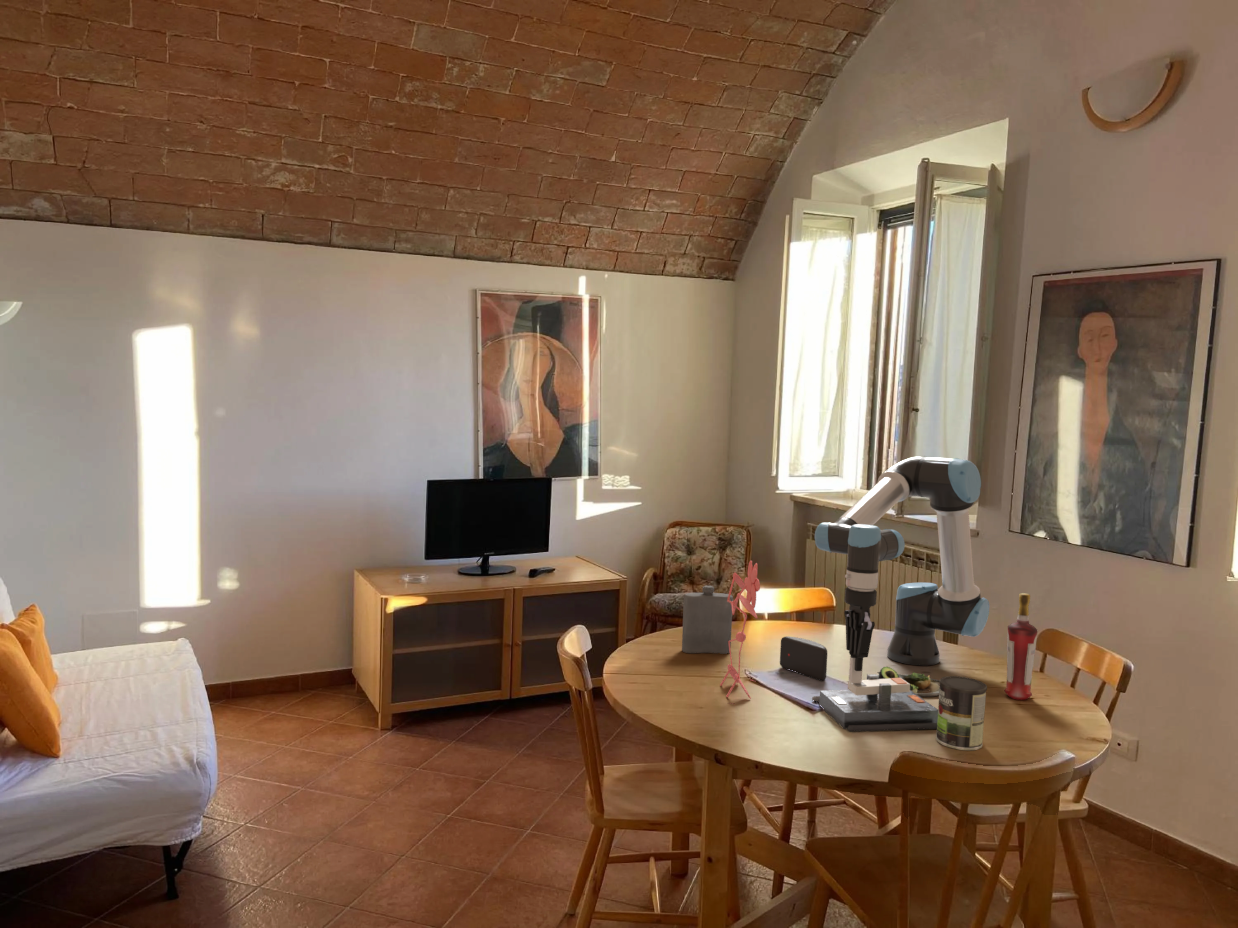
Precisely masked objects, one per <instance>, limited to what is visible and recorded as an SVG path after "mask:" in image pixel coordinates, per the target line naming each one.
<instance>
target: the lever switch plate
mask: <svg viewBox="0 0 1238 928" xmlns="http://www.w3.org/2000/svg"><path fill="white" fill-rule="evenodd" d="M878 675H879V674H877V673H875V674H872V673H871V674H868V673H867V674H866V680H872V679H879V676H878ZM819 696H820V701H819V702H818V705H819V704H820V705H821V706H822V707H823V708H824V710H823V711H824V712H825V713H826V714H827V715H828V717H830V718H832V720H833V721H835V722H836V724H838V725H839V726H840V727H841V728H842V729H843V730H848V726H849V725H878V724H915V723H937V721H938V708H936V707H935V706H934V705H933V704H930V702H928V701H926V700H925V699H923V697H919V696H918V695H916V694H915V693H914V692H912V691H911V690H910V692H902V693H891V685H890V684H889V683H880V684H879V694H870V695H855V694H854V693H852V692H851V691H850V690H849V689H842V690H841V689H837V690H834V689H831V690H819Z"/></svg>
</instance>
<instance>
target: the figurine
mask: <svg viewBox="0 0 1238 928" xmlns="http://www.w3.org/2000/svg"><path fill="white" fill-rule="evenodd" d="M758 566H759V565H758V563H757V562H756V563H755V564H754V565H753V560H750V561H749V562H748V566H747V577H745V578H744V580H743V579H742V578H741V577H740V575H739V574H737V572H734V573H733V574H732V580H731V585H730V588H729V592H728V594H729V595H728V599H727V602H729V603H731V606H732V616H734V615H735V613H736V609H737V610H738V611H740V613H742V614H743V615H744V619H743V625H742V631H738V632H737V633H736V634H735V638H733V639H731V640H730V641H728V644H729V652H730V653H729V658H730V664H727V672H726V673H725V675H724V677H723V679H722V680H721V682H720V684H719V686H720V687H722V686H723V685H724V682H725V681H726V679H727V678H728V676H729V675H730V677H732V679H733V680H734V682H733V683H732V685H731V686H730V689H729V690H728V691H727V694H726V697H727V698H729V696H730V694H731V693H732V691H733V689H734V687H735V686H736V684H739V685H740V686H741V688H742V690H743V691H744V693H745V694H746V695H747V697H748V698H749V699H750V700H751V699H752V697H751V696H750V694H749V692H748V690H747V688H746V686H745V685H744V683H743V682H742V680H741V677H740V673H741V672H740V671H741V650H742V648H743V644H744V642H745V640H747V639H746V638H747V637H746V636H747V635H746V633H745V632H744V631H745V627H746V623H747V618H748V615H747V613H746V612H745V611H744V610H743V609H741V608H740V607H738V606H737V605H738V603H739V601H740V603H741V604H742V606H743V607H744V608H745V610H746V611H747V612H748V613H749V614H750V615H751V616H752V617H754V618H755V619H758V615H757V613H756V610H755V608H756V604H757V592H759V591H760V589H761V583H760V580H759V578H758V575H759V574H758V569H759V568H758ZM734 584H736V585H738V587H739V588H740V589H741V590H740V592H738V593H737V594H736V597H735V598H734V599H733V602H732V601H730V600H729V599H730V595H732V590H733V586H734ZM744 590H745V591H746V597H745V596H744V595H742V593H743V592H744ZM735 641H737V642H739V643H740V647H739V650H738V671H737V670H736V668H735V667H734V666H733V658H732V653H731V652H732V650H731V649H732V648H731V649H730V642H731V643H732V642H735ZM751 681H752V682H755V680H753V679H751ZM728 704H729V705H735V703H734V702H728Z"/></svg>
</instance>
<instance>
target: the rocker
mask: <svg viewBox="0 0 1238 928" xmlns="http://www.w3.org/2000/svg"><path fill="white" fill-rule="evenodd" d="M880 683H889V684H890V685H891V693H902V692H910V684H909V683H908V682H906V681H905V680H903V679H902V678H888V679H872V680H867V679H862V683H850V682H849V680H848V681H847V690H850V691H851V692H852V693H854V694H855V695H870V694H879V684H880Z"/></svg>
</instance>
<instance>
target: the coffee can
mask: <svg viewBox="0 0 1238 928" xmlns="http://www.w3.org/2000/svg"><path fill="white" fill-rule="evenodd" d="M938 680H939V683H940V685H939V686H940V690H939V695H938V707H937V709H938V721H937V729H936V736H935V739H936V740H935V741H936V742H938V743H939V744H940V745H943V746H944V747H947V748H950V749H954V750H958V751H967V752H968V751H969V752H970V751H976V750H979V749H982V748H983V739H984V737H983V736H984V724H985V723H984V722H985V707H986V697H987V690H988V686H987V684H986V683H985V682H983V681H980V680H978V679H975V678H970V677H966V676H957V675H951V676H950V675H948V676H943V677H941V678H940V679H938Z"/></svg>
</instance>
